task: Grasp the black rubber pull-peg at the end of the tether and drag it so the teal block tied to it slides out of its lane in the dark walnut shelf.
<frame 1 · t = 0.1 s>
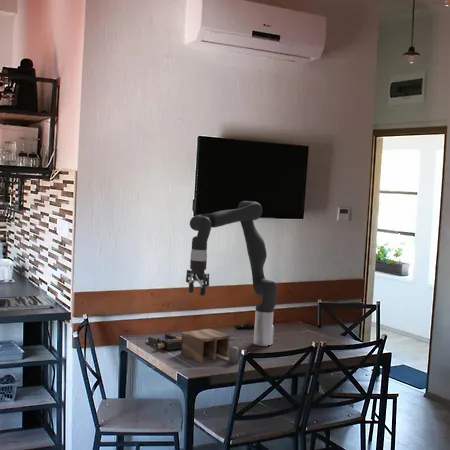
hand: (196, 293, 289), 29 cm above the table, tool pointing down, fingers open, 8 cm apart
shelf: (204, 355, 293), on the table
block: (220, 350, 290), point 4 cm above the table, slide at 0.0 cm
submachine gun: (173, 344, 311), on the table
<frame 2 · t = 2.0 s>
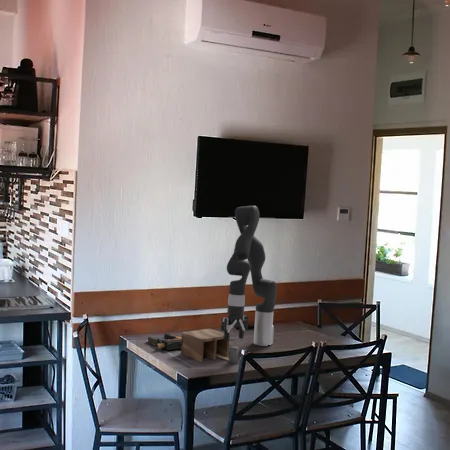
hand: (233, 339, 283), 11 cm above the table, tool pointing down, fingers open, 8 cm apart
nothing on the table moved.
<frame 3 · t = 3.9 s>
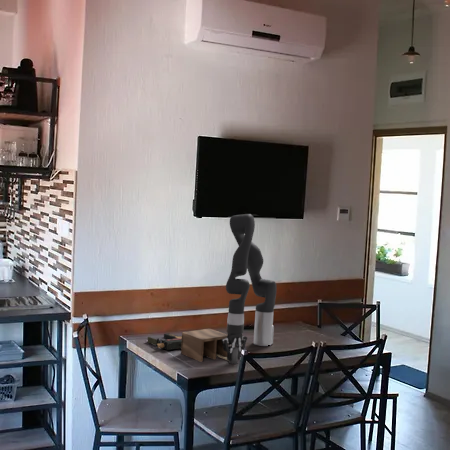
hand: (233, 359, 283), 1 cm above the table, tool pointing down, fingers closed on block, 4 cm apart
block: (220, 350, 290), point 4 cm above the table, slide at 0.0 cm, touching gripper
everything else where it was.
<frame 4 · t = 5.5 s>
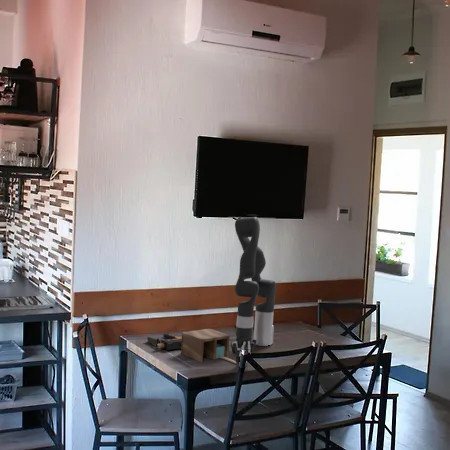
hand: (242, 363, 279), 1 cm above the table, tool pointing down, fingers closed on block, 4 cm apart
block: (229, 353, 285), point 4 cm above the table, slide at 6.2 cm, touching gripper
everything else where it was.
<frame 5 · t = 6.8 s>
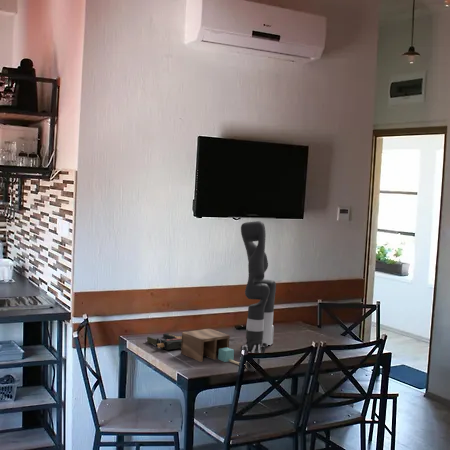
hand: (252, 366, 273), 1 cm above the table, tool pointing down, fingers closed on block, 4 cm apart
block: (238, 357, 280), point 4 cm above the table, slide at 12.9 cm, touching gripper
everything else where it was.
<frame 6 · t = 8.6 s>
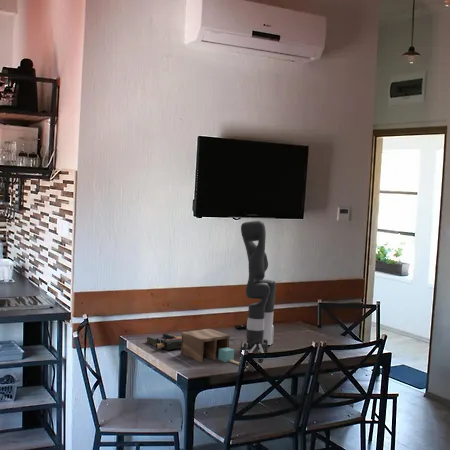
hand: (253, 364, 273), 3 cm above the table, tool pointing down, fingers open, 8 cm apart
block: (239, 357, 280), point 4 cm above the table, slide at 12.9 cm
everything else where it was.
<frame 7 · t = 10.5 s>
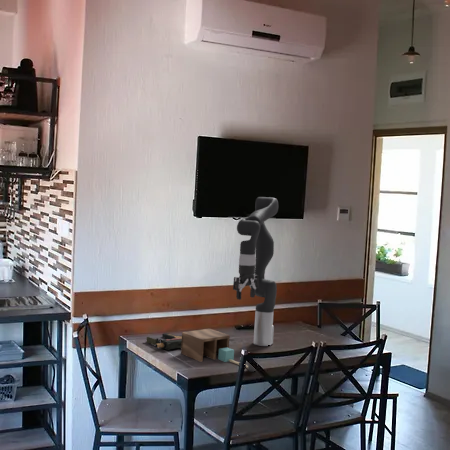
hand: (245, 298, 288), 29 cm above the table, tool pointing down, fingers open, 8 cm apart
nothing on the table moved.
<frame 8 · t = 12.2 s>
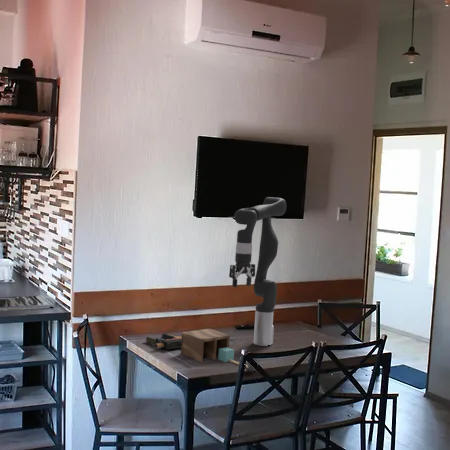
hand: (241, 286, 294), 33 cm above the table, tool pointing down, fingers open, 8 cm apart
at the end: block slide at 12.9 cm; the gripper is holding nothing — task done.
